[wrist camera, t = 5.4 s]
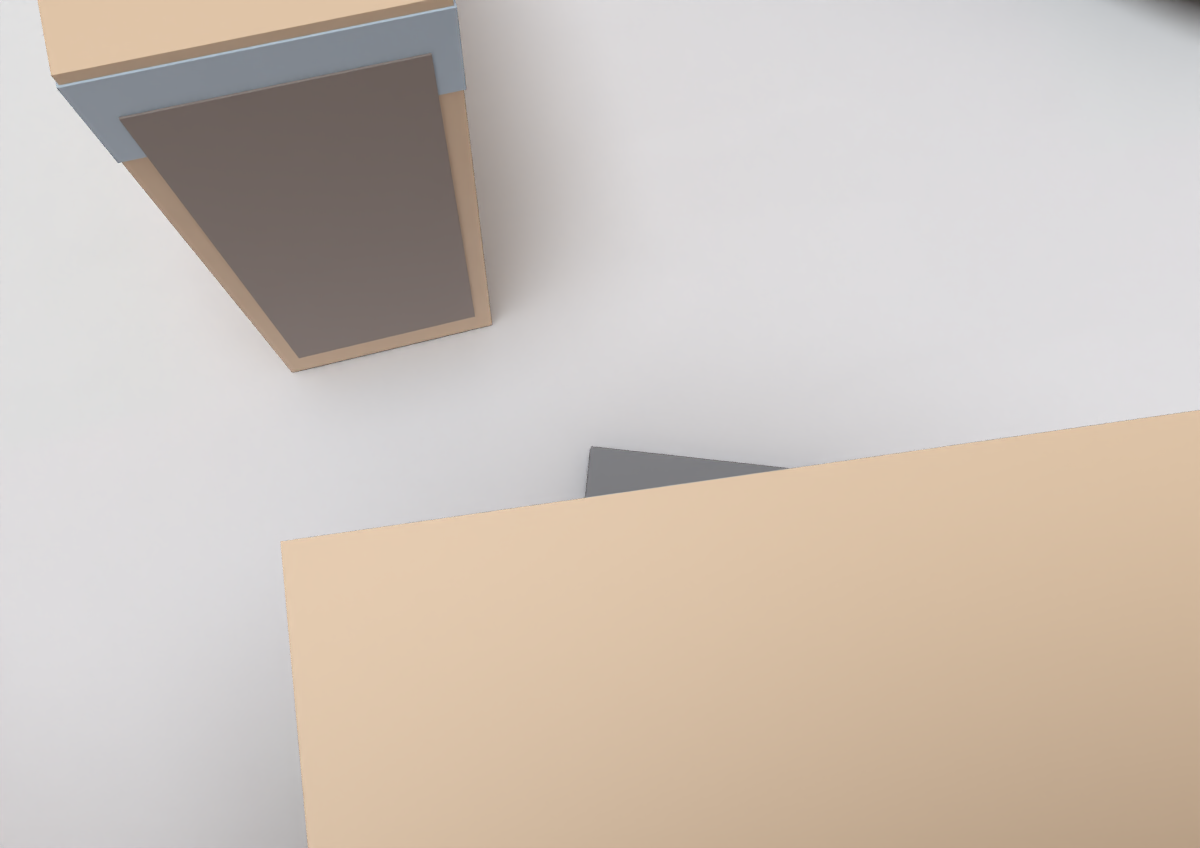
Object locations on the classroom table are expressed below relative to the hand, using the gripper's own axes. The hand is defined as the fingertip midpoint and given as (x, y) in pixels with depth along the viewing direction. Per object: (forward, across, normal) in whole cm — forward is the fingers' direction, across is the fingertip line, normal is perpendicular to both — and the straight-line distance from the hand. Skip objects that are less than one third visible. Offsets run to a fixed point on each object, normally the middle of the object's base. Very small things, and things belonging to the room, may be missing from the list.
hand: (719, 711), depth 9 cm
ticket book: (+18, +4, +1) cm, 19 cm away
